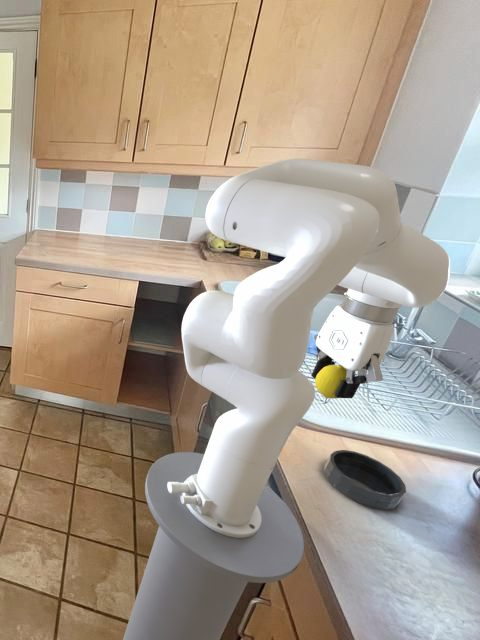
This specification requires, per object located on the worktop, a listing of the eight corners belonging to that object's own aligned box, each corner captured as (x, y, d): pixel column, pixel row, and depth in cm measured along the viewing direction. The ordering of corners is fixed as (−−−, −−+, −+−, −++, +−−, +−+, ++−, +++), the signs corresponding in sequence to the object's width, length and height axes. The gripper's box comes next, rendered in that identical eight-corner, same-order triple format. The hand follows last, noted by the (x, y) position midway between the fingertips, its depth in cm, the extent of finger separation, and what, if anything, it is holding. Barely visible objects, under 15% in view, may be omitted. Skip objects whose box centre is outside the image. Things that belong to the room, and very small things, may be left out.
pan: (354, 509, 78) (362, 496, 76) (310, 461, 88) (316, 448, 86) (414, 511, 77) (423, 498, 76) (363, 462, 88) (370, 450, 86)
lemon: (308, 385, 89) (323, 354, 86) (341, 396, 86) (357, 364, 83) (309, 399, 85) (324, 367, 81) (344, 410, 82) (361, 377, 79)
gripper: (314, 288, 85) (284, 362, 92) (389, 331, 69) (345, 415, 77) (351, 289, 84) (318, 363, 92) (435, 332, 69) (387, 417, 76)
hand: (331, 386), depth 84 cm, fingers closed on lemon, 5 cm apart
